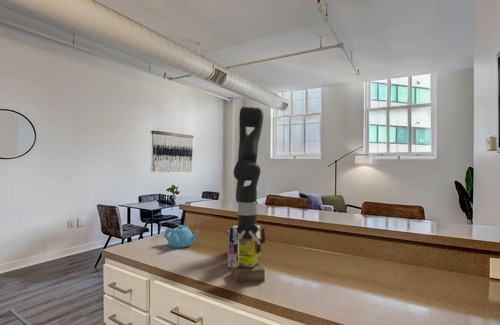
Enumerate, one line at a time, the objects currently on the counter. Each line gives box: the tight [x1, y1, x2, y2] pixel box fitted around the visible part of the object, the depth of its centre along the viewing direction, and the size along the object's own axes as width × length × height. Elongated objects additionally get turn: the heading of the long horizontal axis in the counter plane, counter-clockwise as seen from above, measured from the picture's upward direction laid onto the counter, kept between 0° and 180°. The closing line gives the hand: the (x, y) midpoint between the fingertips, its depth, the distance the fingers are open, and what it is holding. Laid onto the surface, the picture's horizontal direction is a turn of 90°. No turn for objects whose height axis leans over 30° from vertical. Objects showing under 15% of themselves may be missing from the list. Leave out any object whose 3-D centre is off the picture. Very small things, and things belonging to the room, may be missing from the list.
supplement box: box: [239, 238, 259, 269], centre depth 117 cm, size 6×6×11 cm
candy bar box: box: [226, 225, 242, 269], centre depth 131 cm, size 11×5×16 cm, turn 168°
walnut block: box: [230, 261, 266, 285], centre depth 117 cm, size 11×11×5 cm
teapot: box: [163, 224, 200, 249], centre depth 162 cm, size 15×15×11 cm
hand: (247, 253), depth 117 cm, fingers open, 8 cm apart
